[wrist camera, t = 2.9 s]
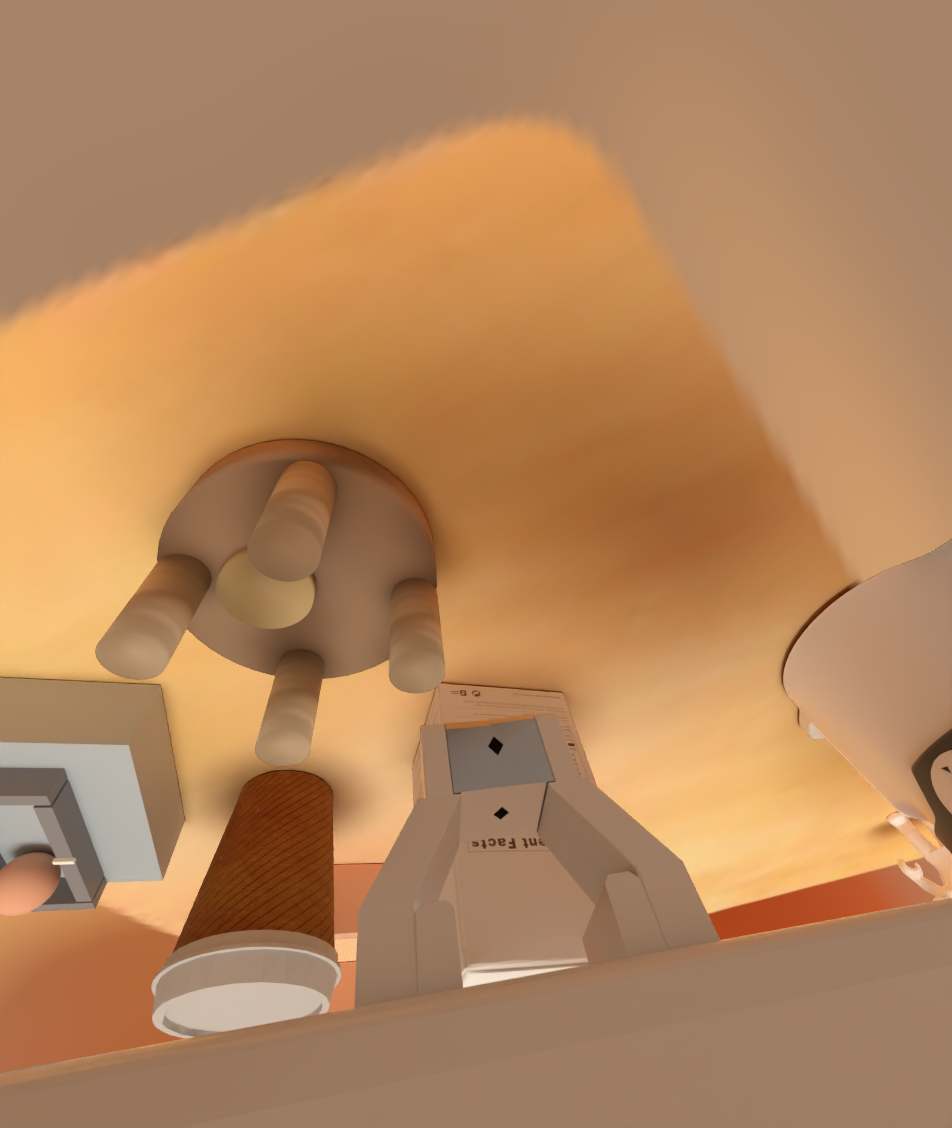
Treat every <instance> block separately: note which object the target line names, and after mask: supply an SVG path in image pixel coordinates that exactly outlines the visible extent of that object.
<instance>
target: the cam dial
mask: <svg viewBox="0 0 952 1128" xmlns="http://www.w3.org/2000/svg"><path fill="white" fill-rule="evenodd" d="M157 562H158V563H157V564H156V565H155V567H154V568H153V569H152V571H151V572H150V574H149V575H148V576H147V578H146V579H145V580H144V582H143V583H142V584H141V586H140V587H139V588H138V590H137V591H136V593H135V594H134V595H133V597H132V598H131V599H130V601H129V602H128V603H127V605H126V606H125V607H124V609H123V610H122V611H121V613H120V614H119V616H118V617H117V618H116V620H115V621H114V622H113V624H112V625H111V626H110V628H109V629H108V630H107V632H106V633H105V635H104V636H103V637H102V639H101V640H100V641H99V643H98V644H97V646H96V649H95V653H96V657H97V659H98V661H99V662H100V664H101V665H102V666H103V667H104V668H106V669H107V670H108V671H110V672H112V673H114V674H116V675H118V676H121V677H124V678H128V679H136V680H142V679H150V678H153V677H156V676H158V675H159V674H161V673H162V672H163V671H164V670H165V668H166V666H167V664H168V663H169V661H170V659H171V657H172V655H173V653H174V651H175V650H176V648H177V646H178V644H179V642H180V640H181V639H182V637H183V635H184V633H185V631H186V629H188V630H189V631H190V632H191V633H192V634H193V635H194V636H195V637H196V638H197V639H198V640H200V641H201V642H202V643H204V644H205V645H206V646H207V647H209V648H210V649H212V650H213V651H215V652H217V653H218V654H220V655H221V656H223V657H225V658H227V659H229V660H231V661H233V662H235V663H237V664H239V665H242V666H244V667H247V668H250V669H252V670H255V671H259V672H262V673H266V674H270V675H275V679H274V682H273V686H272V689H271V693H270V697H269V700H268V704H267V707H266V711H265V714H264V718H263V721H262V725H261V728H260V732H259V736H258V739H257V743H256V746H255V753H256V755H257V756H258V758H259V759H261V760H262V761H264V762H266V763H268V764H271V765H275V766H291V765H295V764H298V763H300V762H302V761H304V760H305V759H306V758H307V757H308V755H309V752H310V746H311V741H312V735H313V729H314V723H315V718H316V712H317V706H318V700H319V695H320V689H321V683H322V679H326V678H335V677H341V676H347V675H351V674H354V673H358V672H362V671H364V670H367V669H370V668H372V667H375V666H377V665H379V664H381V663H383V662H385V661H387V660H388V659H389V678H390V681H391V683H392V684H393V685H394V686H395V687H396V688H397V689H399V690H401V691H404V692H408V693H423V692H427V691H430V690H432V689H434V688H435V687H437V686H438V685H439V684H440V683H441V682H442V681H443V679H444V677H445V664H444V654H443V645H442V635H441V625H440V616H439V606H438V596H437V591H436V587H437V579H436V565H435V555H434V546H433V540H432V535H431V530H430V527H429V524H428V521H427V519H426V516H425V514H424V512H423V511H422V509H421V507H420V505H419V503H418V502H417V501H416V499H415V498H414V496H413V495H412V494H411V492H410V491H409V490H408V489H407V488H406V487H405V486H404V485H403V484H402V482H401V481H400V480H399V479H397V478H396V477H395V476H394V475H393V474H391V473H390V472H389V471H388V470H387V469H385V468H384V467H382V466H380V465H379V464H377V463H376V462H374V461H373V460H371V459H369V458H367V457H365V456H363V455H361V454H359V453H356V452H354V451H351V450H349V449H346V448H343V447H340V446H337V445H332V444H328V443H323V442H319V441H309V440H277V441H271V442H264V443H260V444H256V445H253V446H249V447H246V448H243V449H241V450H239V451H236V452H234V453H232V454H230V455H228V456H226V457H225V458H223V459H222V460H220V461H219V462H217V463H215V464H214V465H213V466H212V467H211V468H210V469H208V470H207V471H206V472H205V473H204V474H203V475H202V476H201V477H200V479H199V480H198V481H197V482H196V483H195V485H194V486H193V487H192V488H191V489H190V491H189V492H188V493H187V494H186V496H185V497H184V498H183V499H182V500H181V502H180V503H179V504H178V506H177V507H176V508H175V509H174V511H173V512H172V513H171V515H170V517H169V518H168V520H167V522H166V524H165V526H164V528H163V531H162V534H161V538H160V541H159V546H158V555H157Z"/></svg>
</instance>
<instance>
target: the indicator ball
mask: <svg viewBox="0 0 952 1128" xmlns="http://www.w3.org/2000/svg"><path fill="white" fill-rule="evenodd" d="M54 858H55V857H53V856H52V855H50V854H47V853H43V852H33V853H28V854H25V855H22V856H19V857H17V858H15V859H14V860H12V861H10V862H9V863H8V864H6V865H5V866H4V867H3V868H2V869H1V870H0V914H3V915H9V916H15V915H21V914H24V913H27V912H30V911H32V910H34V909H36V908H37V907H39V906H40V905H42V904H43V903H44V902H45V901H46V900H48V899H49V897H50V896H51V895H52V894H53V893H54V891H55V890H56V888H57V886H58V884H59V881H60V877H61V867H60V865H53V863H52V861H53V859H54Z"/></svg>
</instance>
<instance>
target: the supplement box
mask: <svg viewBox="0 0 952 1128" xmlns="http://www.w3.org/2000/svg"><path fill="white" fill-rule="evenodd" d="M545 713H555V714H556V715H557V716H558V719H559V721H560V724H561V727H562V729H563V732H564V735H565V738H566V740H567V743H568V746H569V748H570V751H571V754H572V756H573V759H574V762H575V765H576V767H577V770H578V773H579V775H580V778H581V779H583V778H588V779H589V780H590V781H591V782H592V783H593V784H595V785H596V782H595V779H594V777H593V774H592V771H591V768H590V765H589V763H588V760H587V757H586V754H585V751H584V749H583V746H582V743H581V741H580V738H579V735H578V732H577V730H576V727H575V724H574V721H573V719H572V716H571V713H570V711H569V708H568V705H567V702H566V699H565V697H564V694H563V693H558V692H545V691H532V690H520V689H508V688H495V687H482V686H469V685H455V684H444V683H440V684H439V685H438V686H437V688H436V691H435V694H434V698H433V701H432V704H431V707H430V711H429V714H428V717H427V721H426V724H425V725H433V724H445V723H458V722H472V721H486V720H488V719H495V718H504V717H513V716H522V715H530V714H531V715H536V714H545ZM412 770H413V800H414V806H415V805H416V803H417V801H418V799H420V798H423V790H422V771H421V740H420V744H419V747H418V750H417V754H416V757H415V760H414V764H413V768H412ZM596 786H597V785H596ZM537 834H538V833H533V834H524V835H515V836H506V837H497V838H491V839H485V840H479V841H473V842H467V843H461V844H459V848H458V851H457V853H456V856H455V859H454V861H453V864H452V866H451V869H450V871H449V874H448V877H447V879H446V882H445V884H444V887H443V889H442V892H441V895H440V897H439V900H438V901H440V900H446V901H447V902H449V903H450V904H451V905H452V906H454V912H455V920H456V929H457V938H458V946H459V955H460V964H461V973H462V981H463V988H464V987H469V986H475V985H480V984H486V983H491V982H496V981H502V980H507V979H513V978H518V977H524V976H529V975H534V974H540V973H545V972H551V971H556V970H562V969H567V968H573V967H578V966H583V965H589V962H588V959H587V955H586V952H585V948H584V944H583V941H582V938H583V935H584V933H585V930H586V928H587V925H588V923H589V921H590V918H591V916H592V913H593V911H594V908H595V904H594V903H593V902H592V901H591V900H590V898H589V897H588V896H587V895H586V894H585V892H584V891H583V890H582V889H581V888H580V886H579V885H578V884H577V883H576V881H575V880H574V879H573V878H572V877H571V875H570V874H569V873H568V872H567V871H566V869H565V868H564V867H563V866H562V865H561V863H560V862H559V861H558V860H557V859H556V857H555V856H554V855H553V854H552V852H551V851H550V850H549V849H548V848H547V846H546V845H545V844H544V843H543V842H542V840H541V839H540V838H539V837H538V836H537Z"/></svg>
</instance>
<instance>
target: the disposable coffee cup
mask: <svg viewBox="0 0 952 1128" xmlns="http://www.w3.org/2000/svg"><path fill="white" fill-rule="evenodd" d="M333 851H334V849H333V793H332V790H331V788H330V786H329V785H328V784H327V783H326V782H325V781H323V780H322V779H320V778H318V777H316V776H314V775H311V774H307V773H303V772H297V771H276V772H270V773H267V774H264V775H261V776H258V777H256V778H254V779H252V780H251V781H249V782H248V783H247V784H246V785H245V786H244V788H243V789H242V792H241V794H240V797H239V799H238V801H237V804H236V806H235V809H234V811H233V813H232V815H231V818H230V820H229V823H228V825H227V827H226V829H225V832H224V834H223V836H222V839H221V841H220V844H219V846H218V848H217V850H216V853H215V855H214V857H213V860H212V862H211V865H210V867H209V869H208V872H207V874H206V876H205V878H204V881H203V883H202V886H201V888H200V890H199V892H198V895H197V897H196V899H195V902H194V904H193V907H192V909H191V911H190V913H189V916H188V918H187V921H186V923H185V925H184V927H183V930H182V932H181V935H180V937H179V939H178V941H177V944H176V947H175V949H174V951H173V953H172V954H171V955H170V956H169V957H168V958H167V959H166V962H165V964H164V967H163V968H162V969H161V970H160V971H159V972H158V973H157V974H156V976H155V978H154V980H153V983H152V992H153V993H154V996H155V1000H154V1008H153V1015H152V1019H153V1023H154V1025H155V1027H157V1028H158V1029H160V1030H161V1031H163V1032H165V1033H167V1034H169V1035H173V1036H177V1037H181V1038H185V1039H187V1038H192V1037H198V1036H203V1035H209V1034H214V1033H219V1032H225V1031H230V1030H236V1029H241V1028H247V1027H252V1026H257V1025H263V1024H268V1023H274V1022H279V1021H285V1020H290V1019H295V1018H301V1017H306V1016H312V1015H317V1014H323V1013H326V1012H327V1011H328V1009H329V1006H330V1002H331V998H332V994H333V990H334V988H335V987H336V985H337V984H338V983H339V981H340V979H341V966H340V964H339V963H338V954H337V952H336V950H335V948H334V873H333V872H334V865H333V862H334V858H333Z"/></svg>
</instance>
